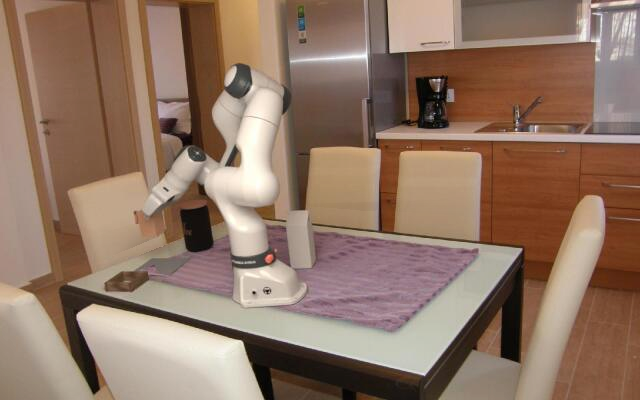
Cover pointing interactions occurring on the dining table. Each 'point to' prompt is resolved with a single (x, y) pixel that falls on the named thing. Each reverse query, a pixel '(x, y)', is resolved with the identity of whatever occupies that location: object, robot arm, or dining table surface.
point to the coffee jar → (196, 225)
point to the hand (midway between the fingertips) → (152, 215)
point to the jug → (150, 224)
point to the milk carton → (300, 239)
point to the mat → (165, 264)
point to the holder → (119, 286)
